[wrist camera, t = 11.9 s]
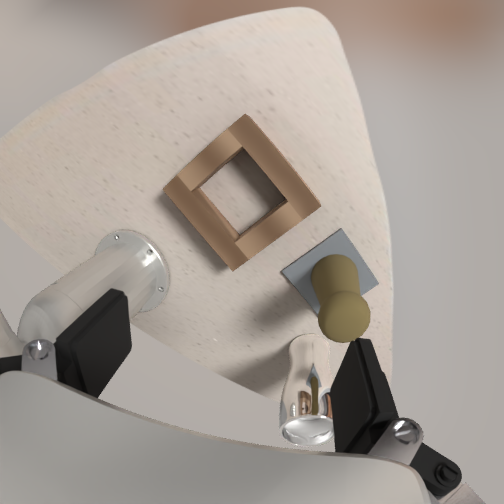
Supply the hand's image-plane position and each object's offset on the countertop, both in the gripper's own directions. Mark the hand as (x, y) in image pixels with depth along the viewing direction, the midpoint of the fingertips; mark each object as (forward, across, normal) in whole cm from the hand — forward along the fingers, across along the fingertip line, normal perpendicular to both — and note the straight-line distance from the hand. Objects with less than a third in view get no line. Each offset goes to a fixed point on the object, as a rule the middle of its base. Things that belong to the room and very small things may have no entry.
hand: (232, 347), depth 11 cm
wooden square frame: (+25, +4, -2) cm, 25 cm away
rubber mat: (+25, -9, +6) cm, 27 cm away
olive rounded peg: (+24, -9, +6) cm, 27 cm away
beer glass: (+25, -9, +18) cm, 32 cm away
